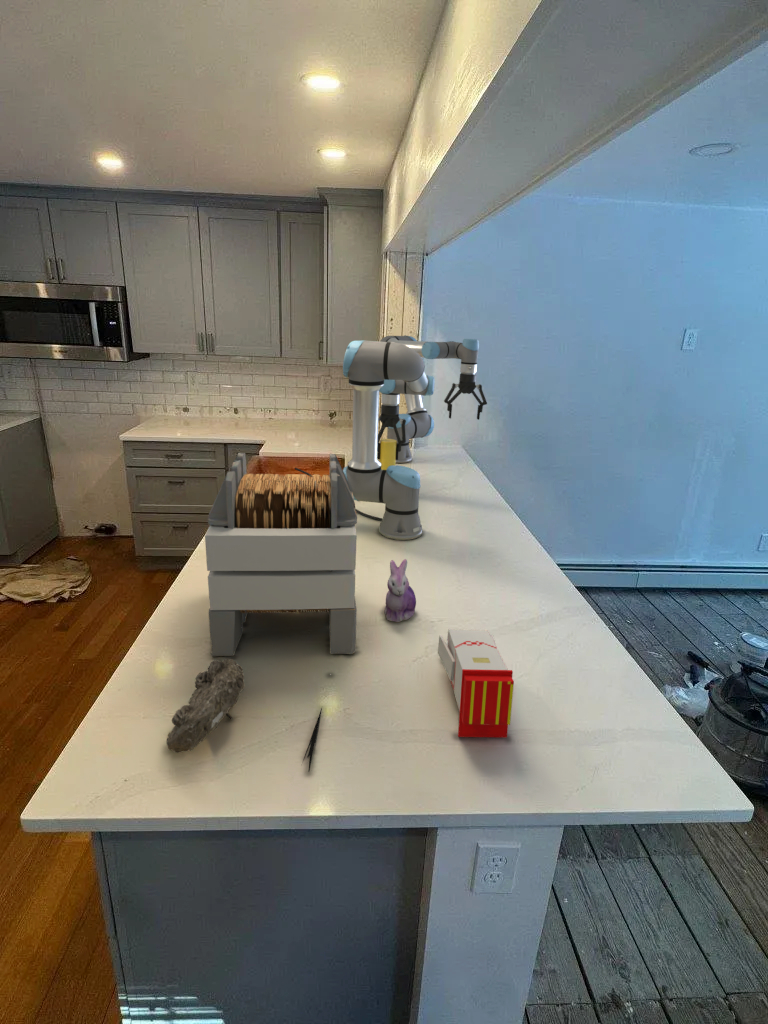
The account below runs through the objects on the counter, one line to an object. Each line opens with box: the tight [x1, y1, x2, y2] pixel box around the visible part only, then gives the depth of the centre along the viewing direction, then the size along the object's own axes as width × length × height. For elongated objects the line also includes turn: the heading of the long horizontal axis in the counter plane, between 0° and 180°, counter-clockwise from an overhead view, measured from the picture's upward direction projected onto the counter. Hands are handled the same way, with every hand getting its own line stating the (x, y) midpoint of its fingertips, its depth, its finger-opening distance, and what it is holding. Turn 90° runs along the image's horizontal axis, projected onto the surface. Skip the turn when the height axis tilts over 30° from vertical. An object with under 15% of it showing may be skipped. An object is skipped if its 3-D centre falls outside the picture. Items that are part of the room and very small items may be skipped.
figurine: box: [384, 558, 417, 623], centre depth 145 cm, size 9×10×15 cm
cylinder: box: [378, 438, 397, 470], centre depth 240 cm, size 7×7×12 cm
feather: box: [301, 673, 332, 771], centre depth 108 cm, size 2×28×2 cm
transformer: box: [204, 452, 358, 658], centre depth 136 cm, size 34×33×41 cm
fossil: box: [166, 658, 245, 754], centre depth 106 cm, size 22×10×15 cm
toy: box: [437, 628, 515, 738], centre depth 117 cm, size 12×13×30 cm
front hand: (387, 458), depth 240 cm, fingers closed on cylinder, 7 cm apart
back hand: (463, 418), depth 272 cm, fingers open, 13 cm apart
